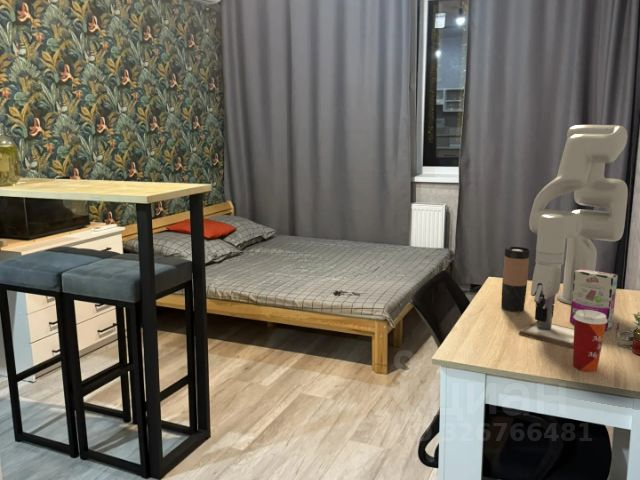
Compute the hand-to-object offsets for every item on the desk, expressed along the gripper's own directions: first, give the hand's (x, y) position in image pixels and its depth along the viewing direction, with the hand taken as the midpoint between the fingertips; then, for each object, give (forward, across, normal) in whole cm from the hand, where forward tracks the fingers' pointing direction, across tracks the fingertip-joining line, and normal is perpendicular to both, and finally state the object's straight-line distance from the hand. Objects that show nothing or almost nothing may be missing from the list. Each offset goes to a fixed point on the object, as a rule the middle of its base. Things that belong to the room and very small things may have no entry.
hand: (543, 318), depth 169 cm
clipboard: (+4, 0, +4) cm, 6 cm away
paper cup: (+4, +18, +18) cm, 25 cm away
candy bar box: (+4, -16, +8) cm, 19 cm away
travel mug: (+4, -14, -16) cm, 22 cm away
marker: (+3, 0, 0) cm, 3 cm away
